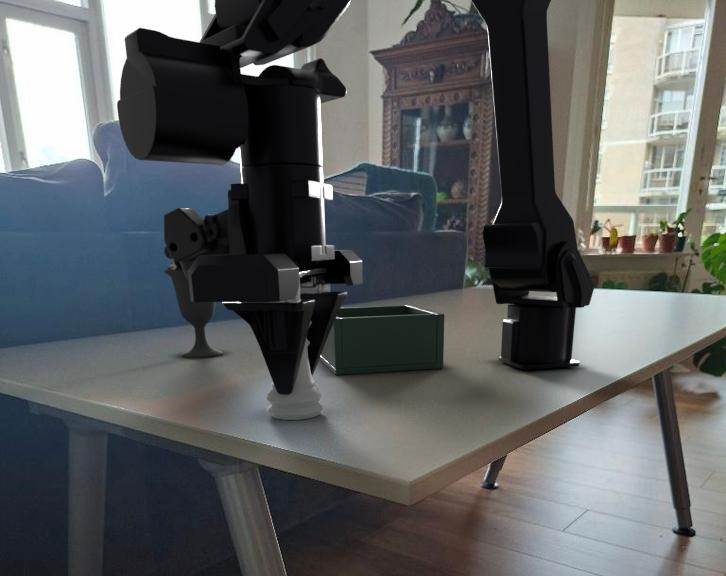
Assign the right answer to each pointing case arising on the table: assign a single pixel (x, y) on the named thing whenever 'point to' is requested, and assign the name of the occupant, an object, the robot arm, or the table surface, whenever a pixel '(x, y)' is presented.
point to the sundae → (193, 312)
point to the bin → (384, 340)
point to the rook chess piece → (297, 395)
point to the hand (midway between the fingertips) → (294, 388)
